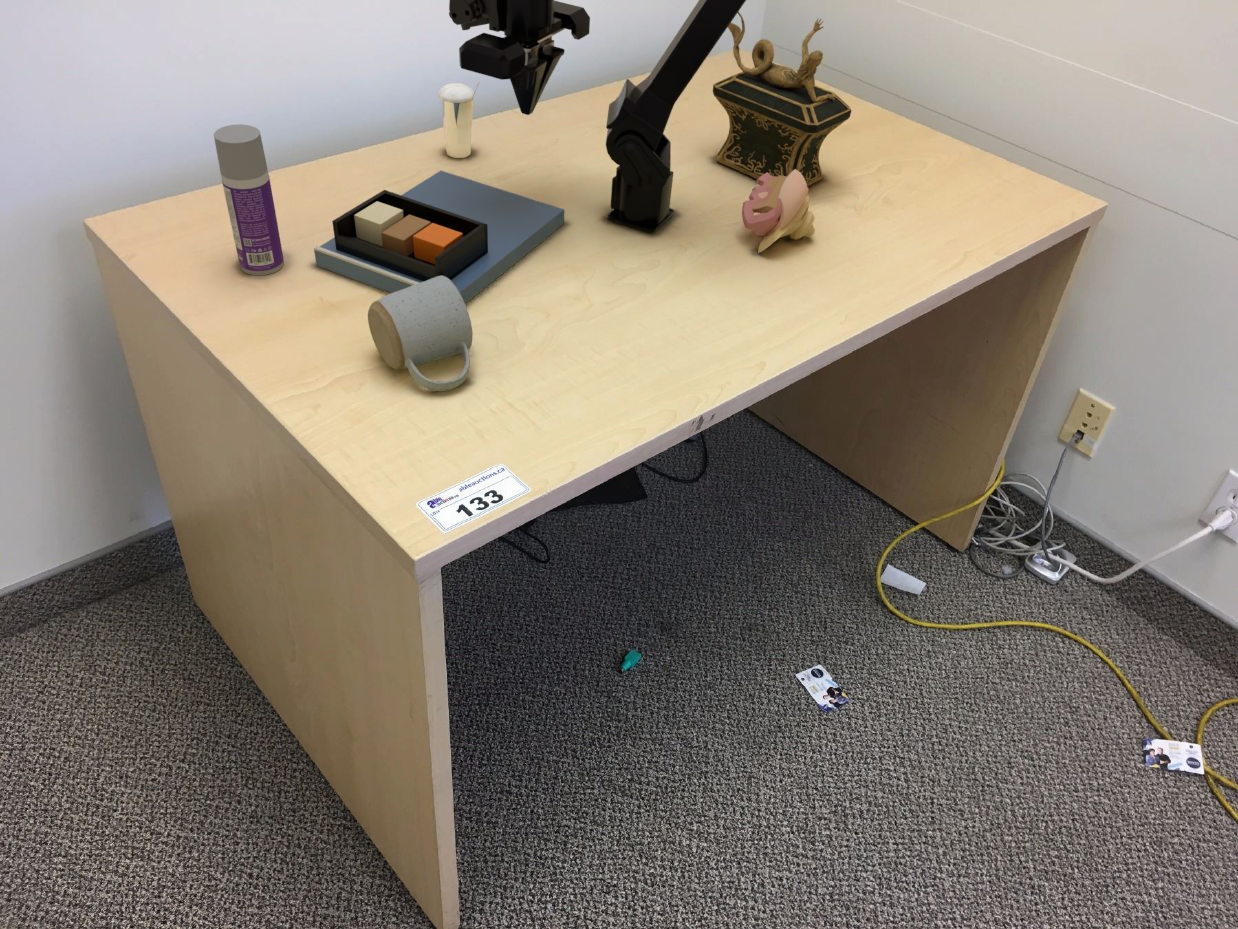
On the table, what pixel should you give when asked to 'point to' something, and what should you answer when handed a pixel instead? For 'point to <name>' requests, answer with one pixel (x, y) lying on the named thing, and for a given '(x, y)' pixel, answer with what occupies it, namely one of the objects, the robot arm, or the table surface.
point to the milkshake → (457, 118)
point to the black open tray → (410, 237)
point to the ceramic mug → (422, 328)
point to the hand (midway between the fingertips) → (526, 113)
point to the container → (249, 198)
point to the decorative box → (777, 113)
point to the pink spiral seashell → (779, 208)
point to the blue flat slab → (505, 213)
